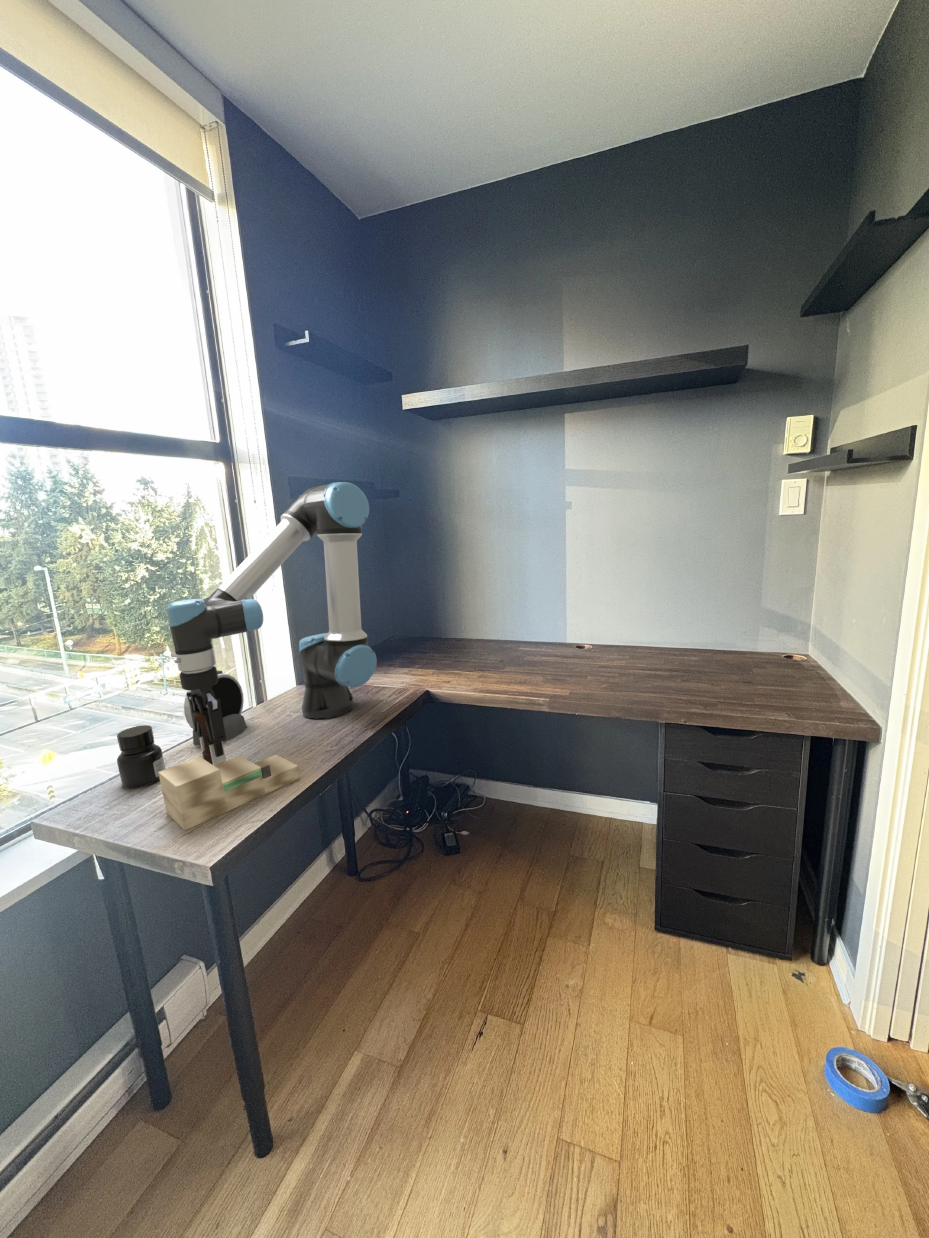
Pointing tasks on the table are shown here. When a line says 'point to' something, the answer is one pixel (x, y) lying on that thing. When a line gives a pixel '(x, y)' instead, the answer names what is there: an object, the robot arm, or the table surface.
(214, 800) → the stair stand
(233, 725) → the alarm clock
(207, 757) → the bolt
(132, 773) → the ink bottle
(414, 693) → the table surface
